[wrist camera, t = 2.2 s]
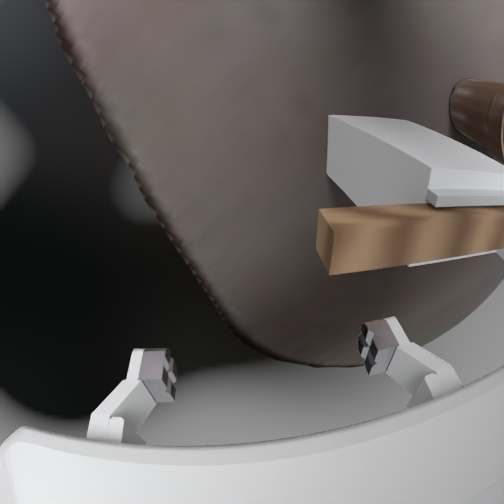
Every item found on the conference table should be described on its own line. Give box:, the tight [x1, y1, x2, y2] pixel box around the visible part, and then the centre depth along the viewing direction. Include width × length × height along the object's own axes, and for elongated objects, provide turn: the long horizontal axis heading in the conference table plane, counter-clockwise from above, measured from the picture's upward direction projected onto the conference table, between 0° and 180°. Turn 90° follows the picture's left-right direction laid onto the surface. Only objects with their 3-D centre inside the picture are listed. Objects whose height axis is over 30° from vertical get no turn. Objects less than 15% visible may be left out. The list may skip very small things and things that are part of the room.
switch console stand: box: [326, 115, 504, 267], centre depth 34 cm, size 16×10×29 cm
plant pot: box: [450, 79, 504, 163], centre depth 35 cm, size 16×16×16 cm
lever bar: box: [316, 203, 504, 275], centre depth 22 cm, size 24×4×4 cm, turn 93°
